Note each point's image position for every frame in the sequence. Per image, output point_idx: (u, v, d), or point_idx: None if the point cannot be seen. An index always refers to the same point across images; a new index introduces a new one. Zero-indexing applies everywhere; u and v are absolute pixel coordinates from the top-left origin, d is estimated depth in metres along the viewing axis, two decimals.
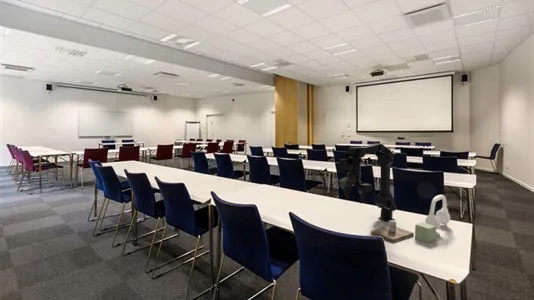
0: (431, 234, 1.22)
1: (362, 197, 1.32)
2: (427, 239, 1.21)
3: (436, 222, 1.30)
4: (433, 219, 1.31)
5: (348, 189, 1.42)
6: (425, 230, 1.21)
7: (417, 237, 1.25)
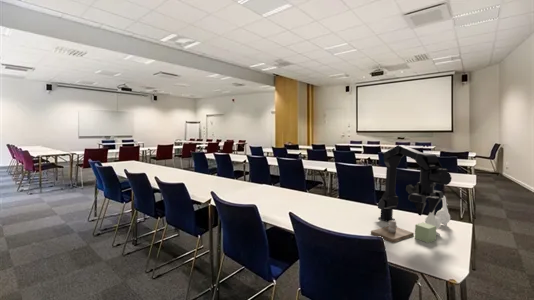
0: (431, 234, 1.22)
1: (418, 208, 1.21)
2: (427, 239, 1.21)
3: (436, 222, 1.30)
4: (433, 219, 1.31)
5: (433, 202, 1.25)
6: (425, 230, 1.21)
7: (417, 237, 1.25)
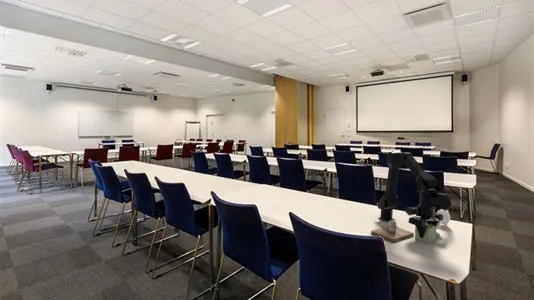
0: (431, 234, 1.22)
1: (419, 231, 1.23)
2: (427, 239, 1.21)
3: None
4: None
5: None
6: None
7: (417, 237, 1.25)
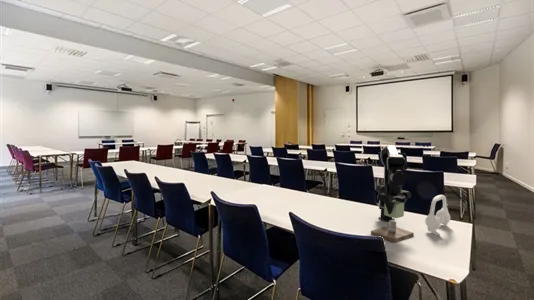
0: (399, 210, 1.26)
1: (387, 207, 1.27)
2: (395, 215, 1.25)
3: (436, 222, 1.30)
4: (433, 219, 1.31)
5: None
6: None
7: (386, 214, 1.29)
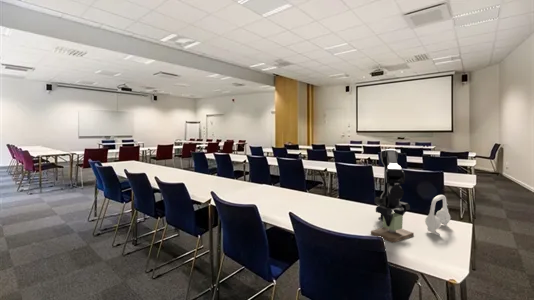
0: (397, 222, 1.26)
1: (386, 219, 1.27)
2: (393, 227, 1.26)
3: (436, 222, 1.30)
4: (433, 219, 1.31)
5: None
6: None
7: (385, 226, 1.30)
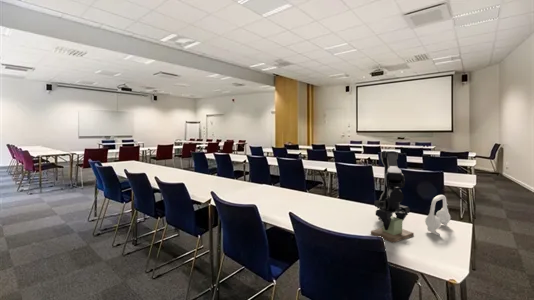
0: (397, 227, 1.26)
1: (384, 223, 1.27)
2: (393, 232, 1.26)
3: (436, 222, 1.30)
4: (433, 219, 1.31)
5: (400, 217, 1.31)
6: (391, 223, 1.26)
7: (384, 230, 1.30)
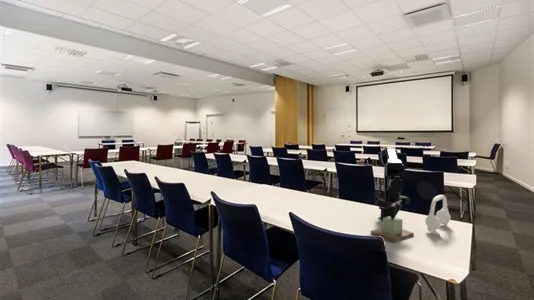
0: (397, 227, 1.26)
1: (390, 212, 1.29)
2: (393, 232, 1.26)
3: (436, 222, 1.30)
4: (433, 219, 1.31)
5: None
6: (391, 223, 1.26)
7: (384, 230, 1.30)
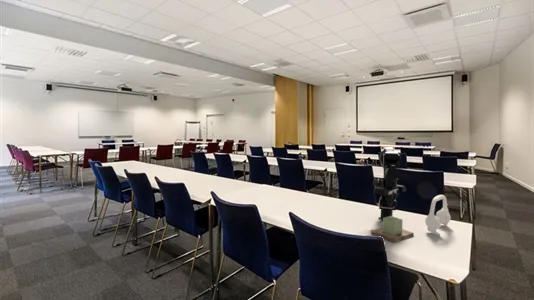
0: (397, 227, 1.26)
1: (387, 200, 1.36)
2: (393, 232, 1.26)
3: (436, 222, 1.30)
4: (433, 219, 1.31)
5: None
6: (391, 223, 1.26)
7: (384, 230, 1.30)
